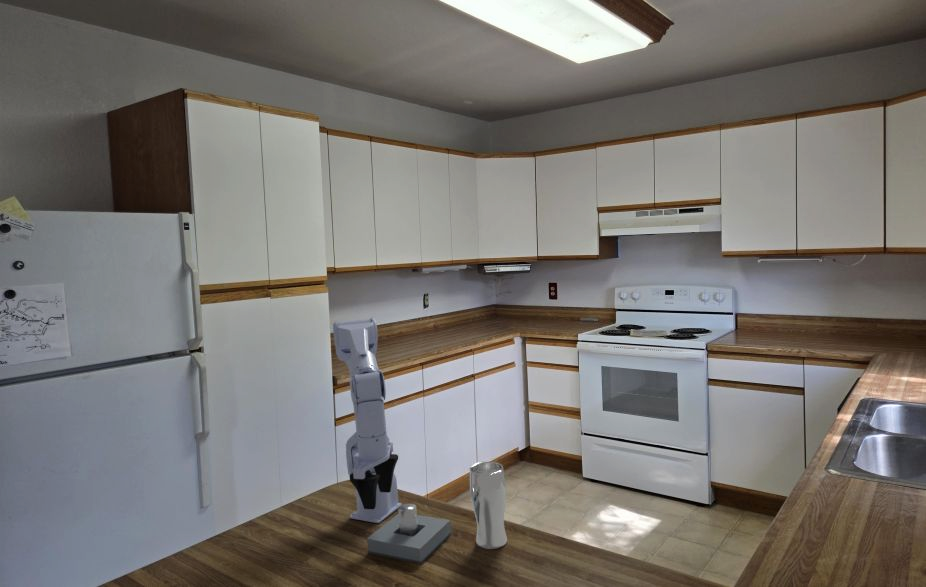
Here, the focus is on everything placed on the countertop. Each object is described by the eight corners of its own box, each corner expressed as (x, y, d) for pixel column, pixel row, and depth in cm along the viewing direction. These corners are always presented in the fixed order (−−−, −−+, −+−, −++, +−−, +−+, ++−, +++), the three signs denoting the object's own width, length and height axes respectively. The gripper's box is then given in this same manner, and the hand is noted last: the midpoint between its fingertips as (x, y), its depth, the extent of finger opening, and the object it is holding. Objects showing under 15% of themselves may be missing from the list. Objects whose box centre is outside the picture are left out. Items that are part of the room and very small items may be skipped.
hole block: (401, 525, 132) (400, 512, 132) (451, 534, 127) (450, 520, 126) (368, 553, 122) (366, 538, 121) (421, 564, 116) (419, 548, 116)
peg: (401, 537, 126) (398, 504, 125) (419, 535, 126) (416, 502, 125) (400, 546, 122) (397, 512, 121) (419, 544, 122) (416, 510, 122)
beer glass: (515, 544, 121) (510, 469, 119) (482, 553, 118) (476, 477, 117) (500, 529, 127) (495, 458, 126) (468, 538, 125) (463, 465, 123)
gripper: (368, 421, 130) (374, 483, 132) (335, 445, 117) (342, 515, 118) (400, 421, 128) (405, 485, 130) (370, 446, 115) (376, 517, 116)
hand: (377, 499), depth 124 cm, fingers open, 7 cm apart
